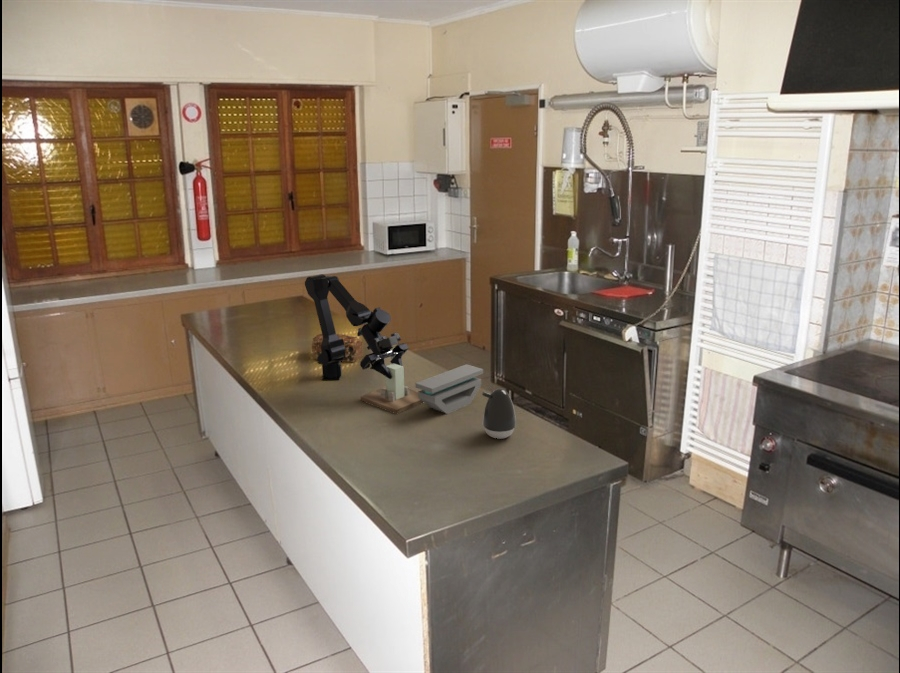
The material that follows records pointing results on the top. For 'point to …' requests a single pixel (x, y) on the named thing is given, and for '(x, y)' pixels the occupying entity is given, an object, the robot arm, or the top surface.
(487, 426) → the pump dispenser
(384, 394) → the tan board with pegs
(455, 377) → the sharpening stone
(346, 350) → the bread
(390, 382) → the pale panelled upright block
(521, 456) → the top surface
